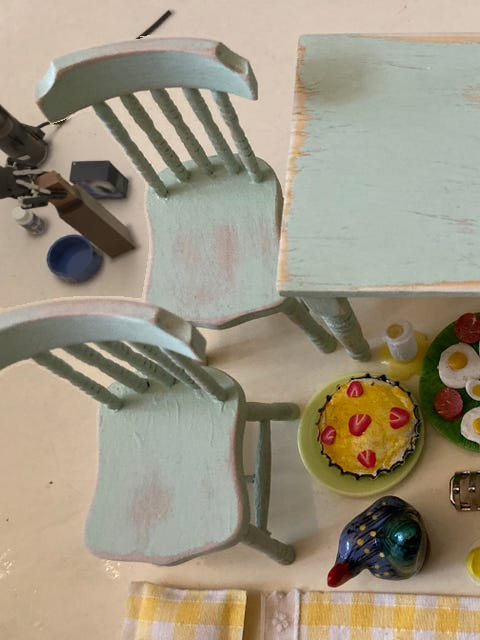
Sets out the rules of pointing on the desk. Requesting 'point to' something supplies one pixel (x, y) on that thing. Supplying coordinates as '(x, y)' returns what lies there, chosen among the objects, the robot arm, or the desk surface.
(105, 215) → the brown rectangular block
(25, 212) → the pill bottle
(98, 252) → the bowl
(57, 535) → the desk surface
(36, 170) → the robot arm
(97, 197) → the small box
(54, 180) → the reddish-brown short block
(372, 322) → the desk surface
